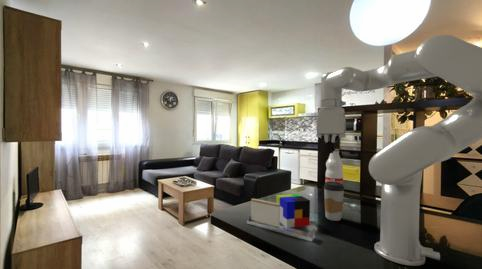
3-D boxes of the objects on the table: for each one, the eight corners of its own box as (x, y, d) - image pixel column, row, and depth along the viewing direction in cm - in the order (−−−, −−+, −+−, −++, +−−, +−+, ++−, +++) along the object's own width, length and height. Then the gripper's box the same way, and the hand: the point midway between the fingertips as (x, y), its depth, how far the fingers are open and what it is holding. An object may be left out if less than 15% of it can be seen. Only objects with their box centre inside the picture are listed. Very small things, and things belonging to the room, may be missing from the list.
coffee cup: (346, 218, 98) (347, 183, 98) (339, 223, 92) (340, 186, 92) (327, 213, 104) (328, 180, 104) (319, 218, 98) (320, 183, 98)
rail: (314, 237, 79) (315, 229, 79) (311, 241, 76) (311, 232, 76) (251, 220, 94) (251, 213, 94) (246, 223, 91) (246, 216, 91)
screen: (279, 225, 86) (280, 203, 86) (278, 226, 84) (278, 204, 84) (252, 218, 92) (252, 198, 92) (250, 219, 91) (251, 199, 91)
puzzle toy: (286, 227, 87) (287, 202, 87) (275, 218, 97) (276, 195, 97) (309, 225, 90) (309, 200, 90) (296, 216, 100) (297, 193, 100)
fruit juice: (344, 197, 131) (345, 149, 131) (340, 201, 124) (340, 150, 124) (328, 194, 137) (328, 148, 137) (322, 198, 130) (323, 149, 130)
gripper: (353, 105, 87) (353, 153, 87) (314, 107, 95) (313, 151, 95) (350, 103, 80) (349, 154, 80) (308, 105, 89) (308, 152, 89)
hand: (330, 152), depth 88 cm, fingers closed
